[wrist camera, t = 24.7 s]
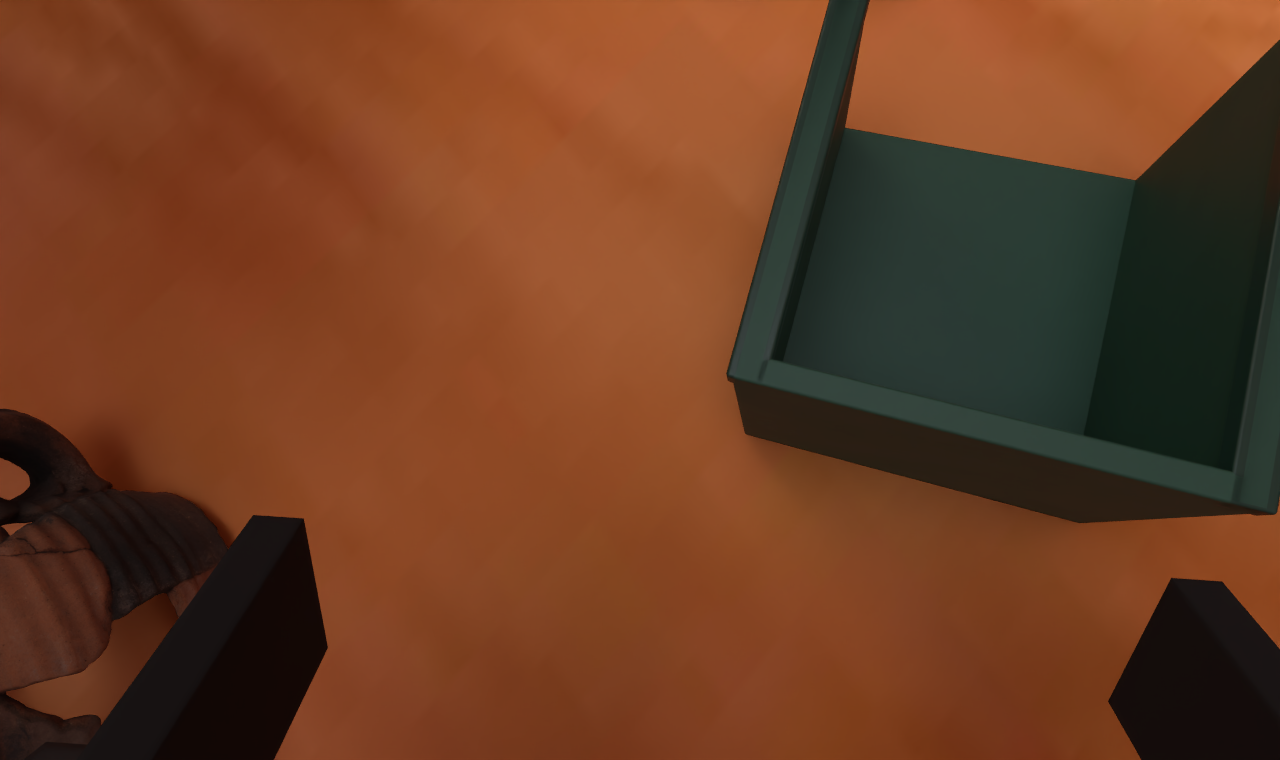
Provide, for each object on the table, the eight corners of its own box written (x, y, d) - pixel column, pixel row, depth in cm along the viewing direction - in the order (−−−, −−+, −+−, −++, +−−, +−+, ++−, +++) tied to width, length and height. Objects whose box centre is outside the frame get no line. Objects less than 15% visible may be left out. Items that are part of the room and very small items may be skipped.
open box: (1085, 524, 23) (1278, 515, 14) (740, 432, 25) (725, 376, 16) (1152, 192, 25) (1362, 0, 16) (822, 131, 27) (847, -67, 18)
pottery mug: (304, 690, 26) (14, 874, 19) (165, 711, 31) (-106, 863, 24) (170, 348, 26) (-174, 406, 19) (51, 424, 31) (-255, 493, 24)
